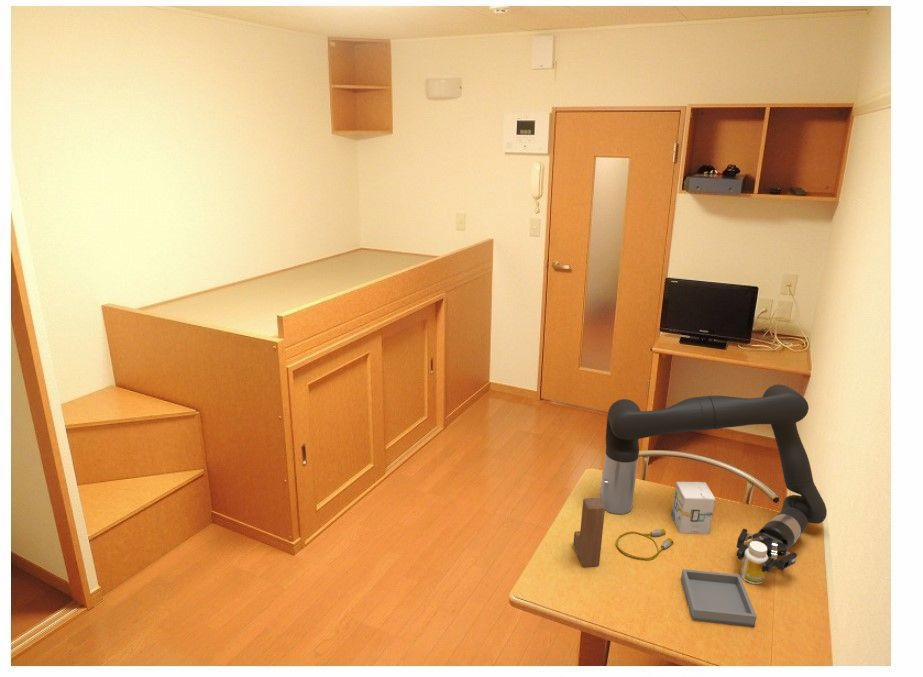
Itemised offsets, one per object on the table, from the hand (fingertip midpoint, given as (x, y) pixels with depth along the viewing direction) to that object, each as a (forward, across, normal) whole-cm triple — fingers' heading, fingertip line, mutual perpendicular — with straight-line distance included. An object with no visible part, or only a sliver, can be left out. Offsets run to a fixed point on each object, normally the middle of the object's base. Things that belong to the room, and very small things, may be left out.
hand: (751, 562), depth 151 cm
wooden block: (+22, -33, +6) cm, 40 cm away
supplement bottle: (-3, 0, +6) cm, 7 cm away
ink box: (-11, -21, +6) cm, 25 cm away
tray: (+12, -2, +6) cm, 14 cm away
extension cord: (+7, -25, +7) cm, 27 cm away
